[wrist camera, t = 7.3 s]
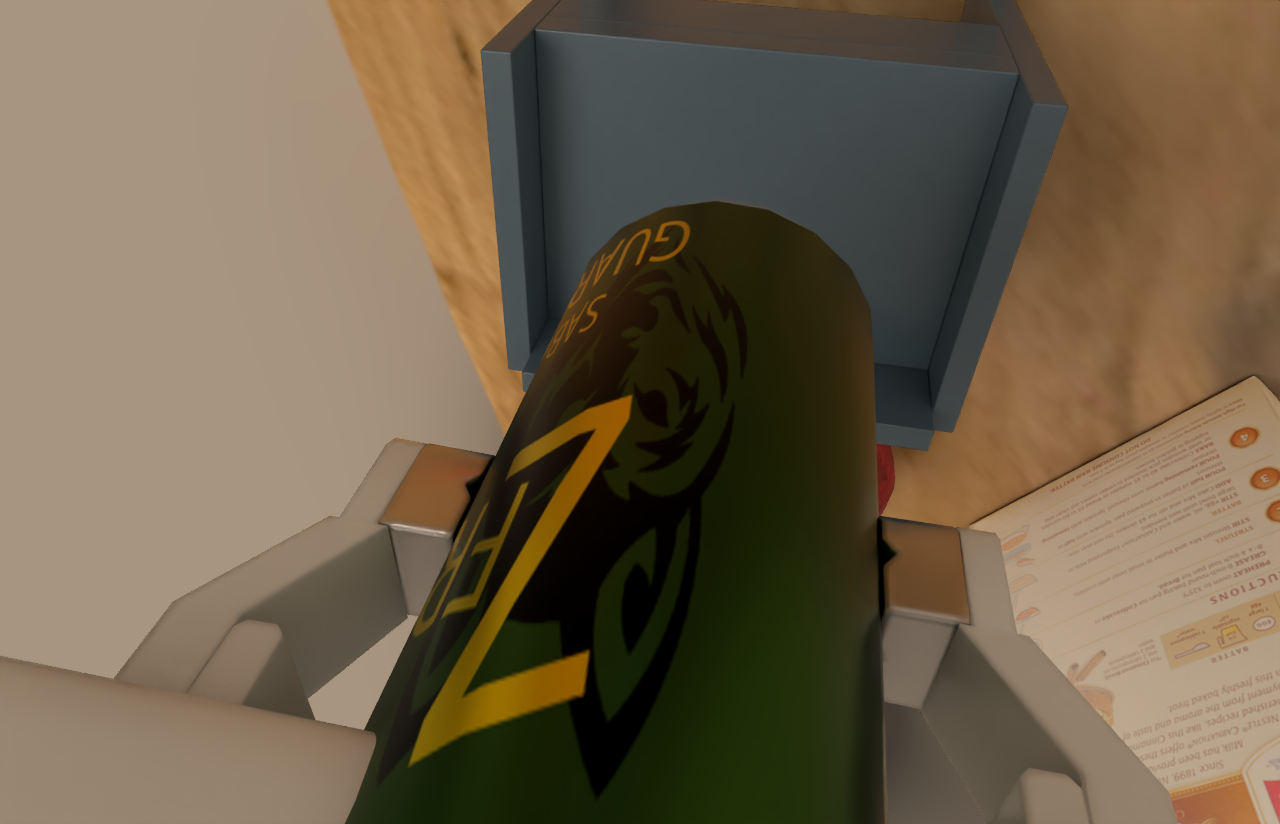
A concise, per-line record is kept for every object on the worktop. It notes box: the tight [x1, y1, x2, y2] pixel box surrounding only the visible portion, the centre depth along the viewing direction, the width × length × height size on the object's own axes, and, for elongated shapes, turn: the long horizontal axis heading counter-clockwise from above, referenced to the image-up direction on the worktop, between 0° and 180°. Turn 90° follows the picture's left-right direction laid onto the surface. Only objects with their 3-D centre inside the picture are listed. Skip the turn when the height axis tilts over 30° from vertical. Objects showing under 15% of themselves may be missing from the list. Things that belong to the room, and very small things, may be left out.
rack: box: [481, 0, 1068, 451], centre depth 25 cm, size 20×14×14 cm
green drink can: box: [345, 199, 888, 824], centre depth 11 cm, size 5×5×12 cm
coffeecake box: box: [969, 376, 1280, 824], centre depth 35 cm, size 15×7×20 cm, turn 141°
